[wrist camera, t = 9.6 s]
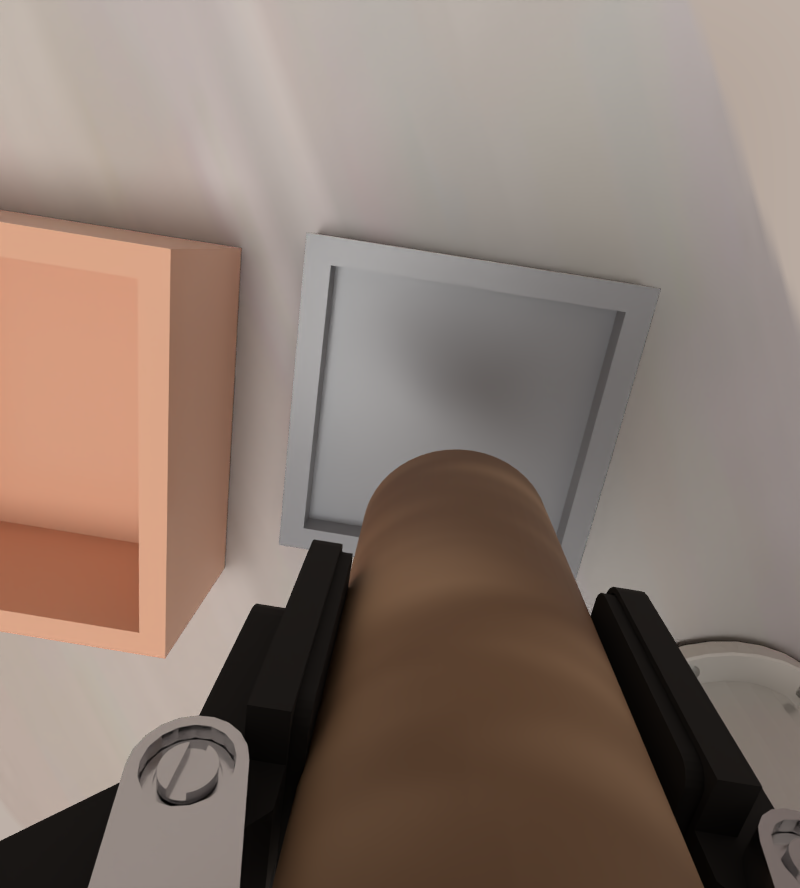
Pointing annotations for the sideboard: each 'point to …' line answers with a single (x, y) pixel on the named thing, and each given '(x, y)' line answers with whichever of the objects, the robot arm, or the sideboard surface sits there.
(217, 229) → the sideboard surface
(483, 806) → the walnut dowel
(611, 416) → the grey tray
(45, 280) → the terracotta open box
